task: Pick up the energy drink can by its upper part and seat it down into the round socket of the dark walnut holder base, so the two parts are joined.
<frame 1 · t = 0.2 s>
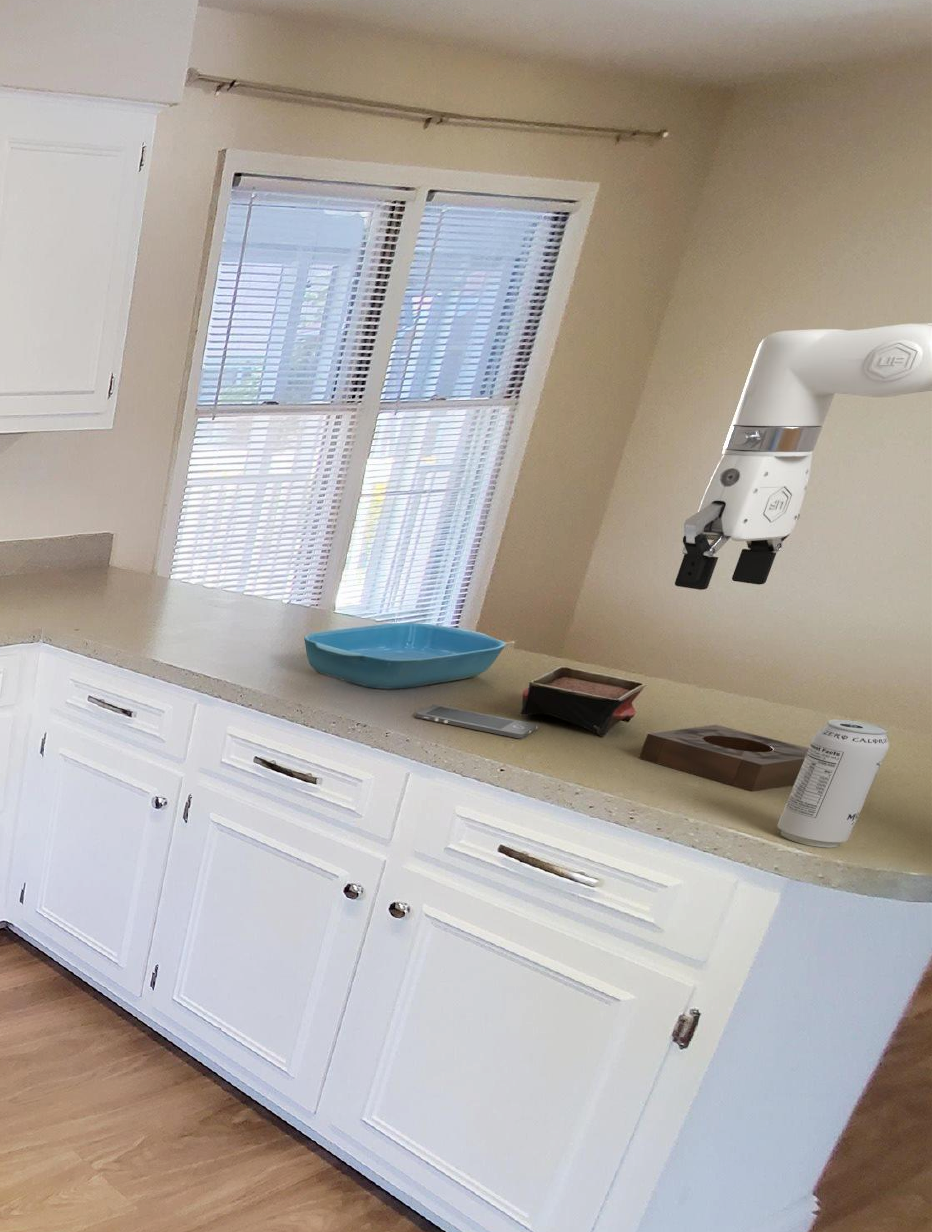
hand: (719, 585, 127), 30 cm above the counter, tool pointing down, fingers open, 9 cm apart
smartphone: (473, 723, 171), on the counter
dark brown bonsai pot: (571, 722, 171), on the counter
energy drink can: (808, 840, 127), on the counter
holder: (727, 769, 150), on the counter
casserole dish: (394, 674, 200), on the counter
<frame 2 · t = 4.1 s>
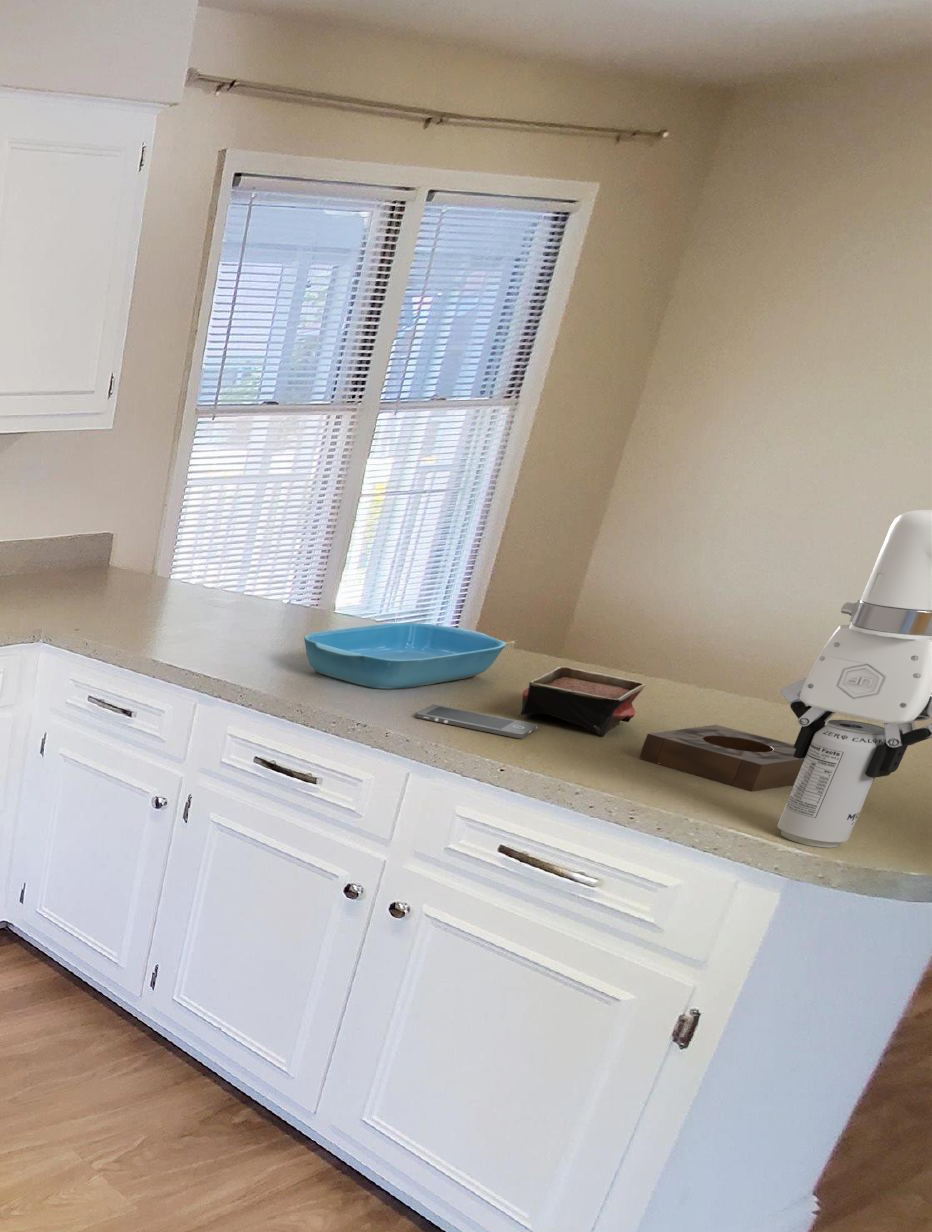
hand: (840, 764, 124), 10 cm above the counter, tool pointing down, fingers closed on energy drink can, 6 cm apart
energy drink can: (808, 840, 127), on the counter, touching gripper
everything else where it was.
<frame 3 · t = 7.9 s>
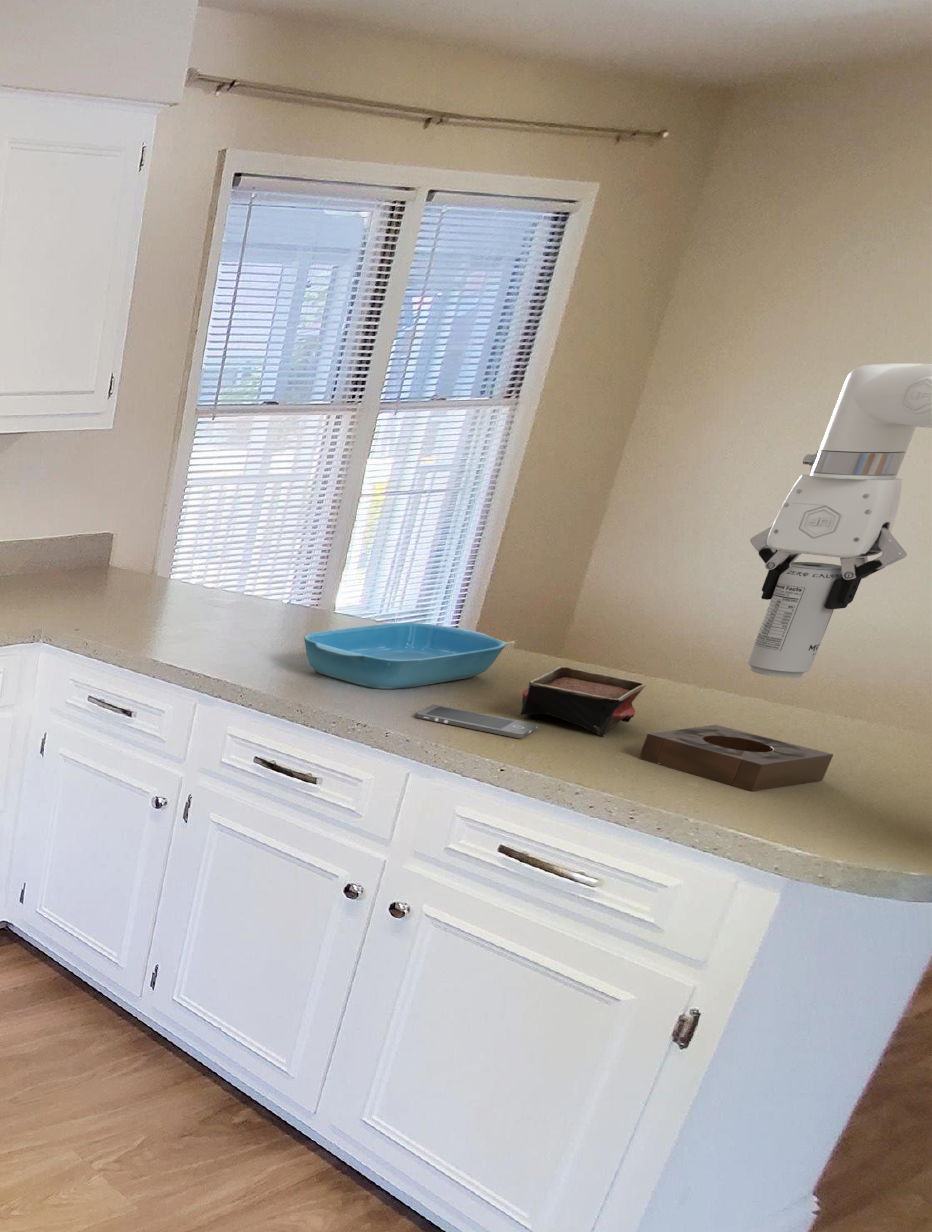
hand: (803, 602, 138), 25 cm above the counter, tool pointing down, fingers closed on energy drink can, 6 cm apart
energy drink can: (774, 674, 142), point 15 cm above the counter, touching gripper
everything else where it was.
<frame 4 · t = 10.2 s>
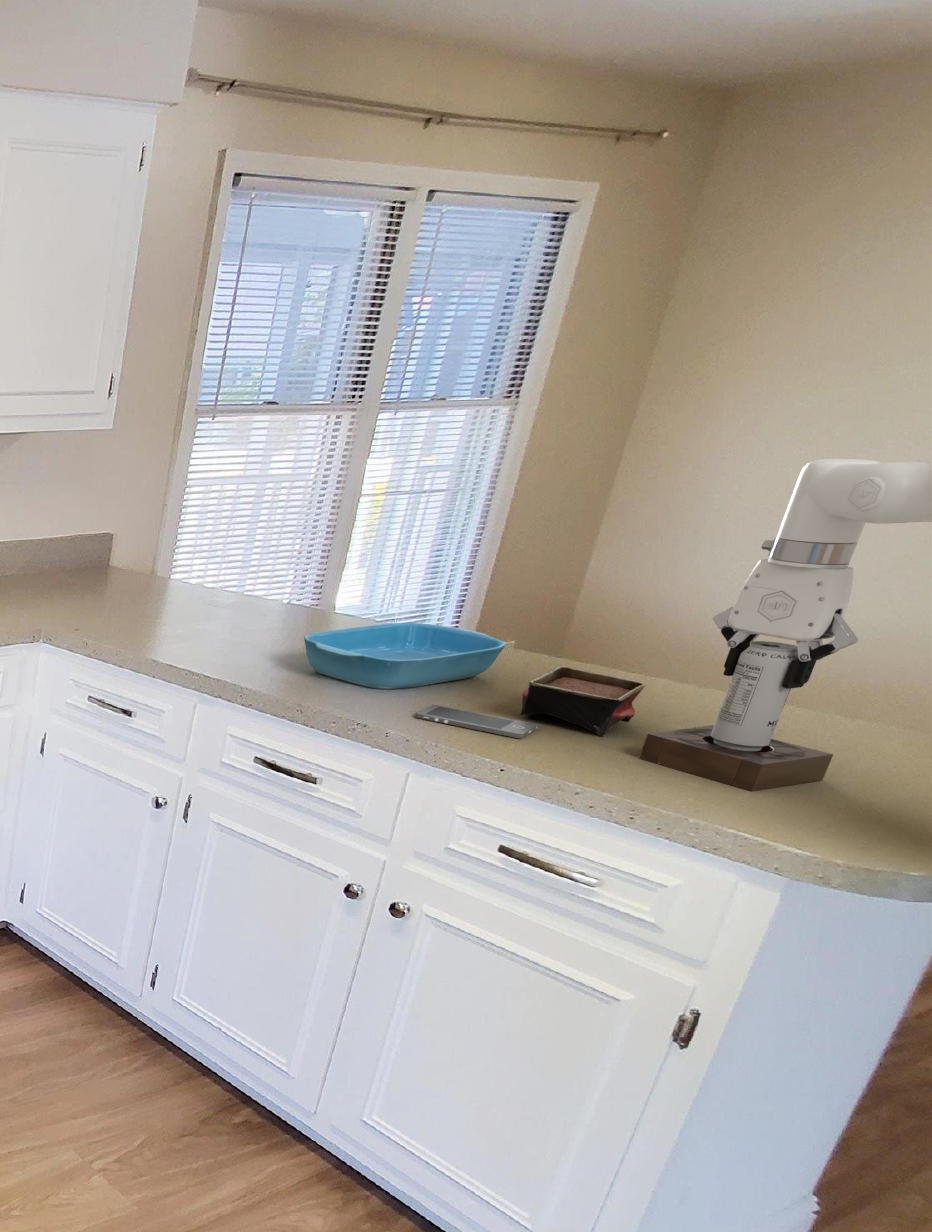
hand: (762, 679, 145), 14 cm above the counter, tool pointing down, fingers closed on energy drink can, 6 cm apart
energy drink can: (736, 746, 148), point 4 cm above the counter, touching gripper
everything else where it was.
when the fingers open (10 cm above the counter, at t = 11.8 s): energy drink can stays where it is, resting in holder.
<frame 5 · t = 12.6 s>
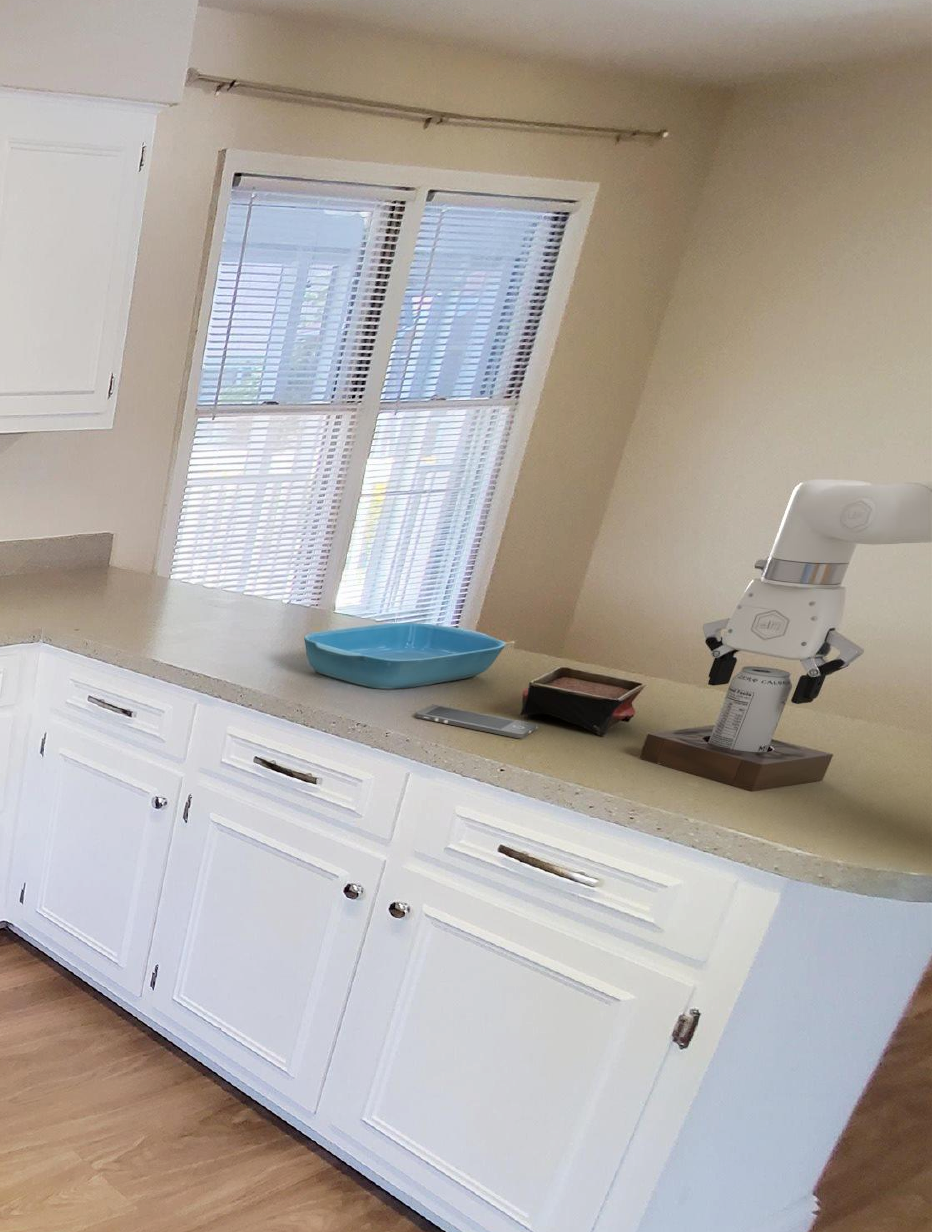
hand: (758, 693, 145), 12 cm above the counter, tool pointing down, fingers open, 9 cm apart
energy drink can: (727, 770, 150), resting in holder
everything else where it was.
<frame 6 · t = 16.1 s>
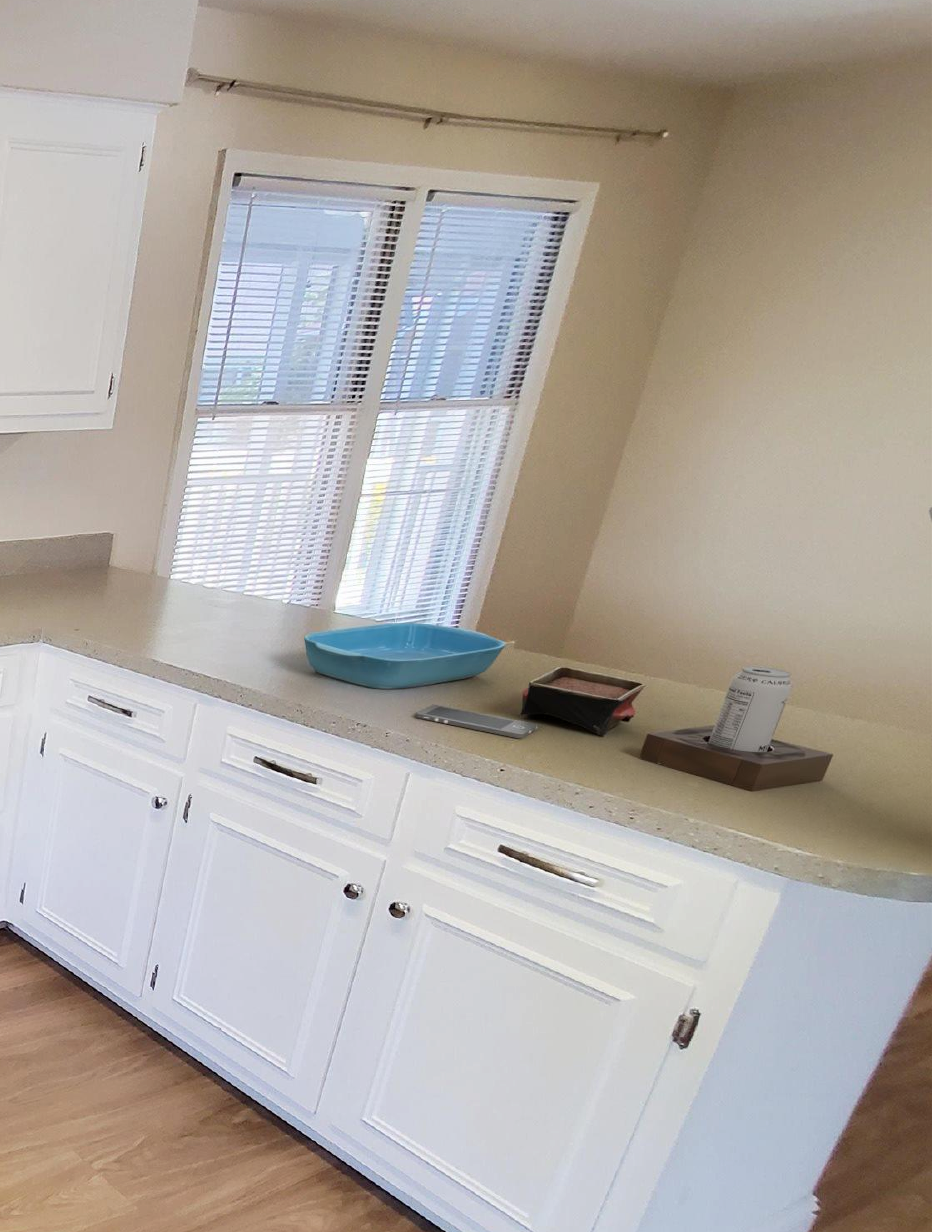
nothing on the counter moved.
at the end: energy drink can 0.1 cm off-centre in the holder, point 0.0 cm above the holder's base; energy drink can tilted 0°; the gripper is holding nothing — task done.
